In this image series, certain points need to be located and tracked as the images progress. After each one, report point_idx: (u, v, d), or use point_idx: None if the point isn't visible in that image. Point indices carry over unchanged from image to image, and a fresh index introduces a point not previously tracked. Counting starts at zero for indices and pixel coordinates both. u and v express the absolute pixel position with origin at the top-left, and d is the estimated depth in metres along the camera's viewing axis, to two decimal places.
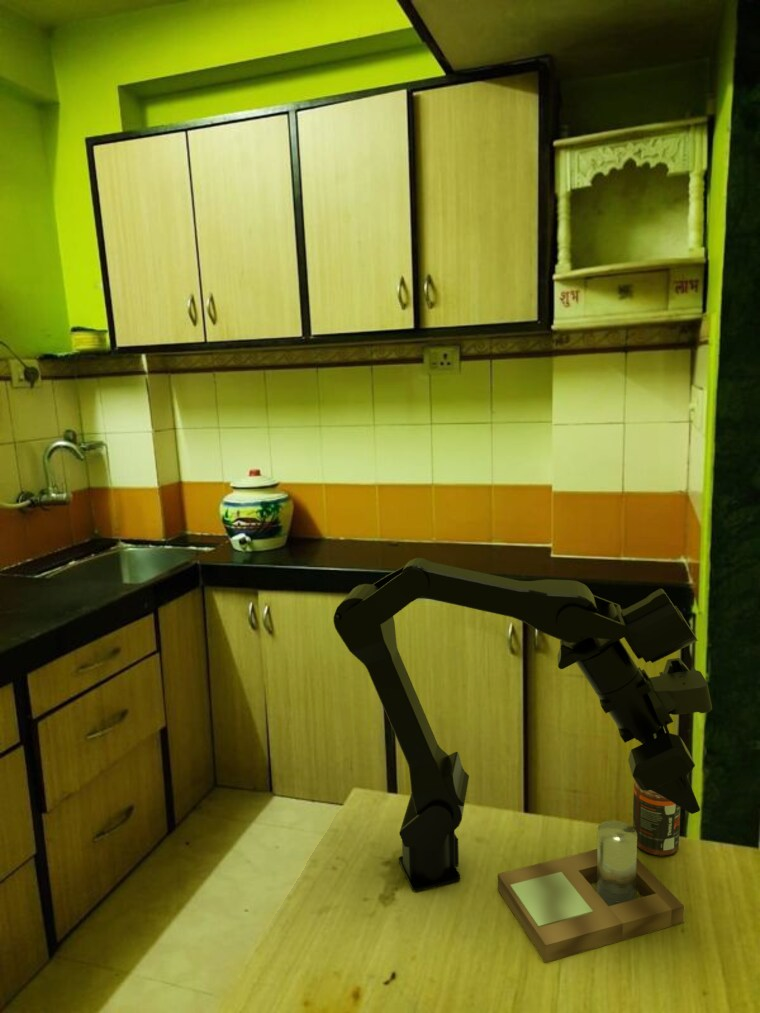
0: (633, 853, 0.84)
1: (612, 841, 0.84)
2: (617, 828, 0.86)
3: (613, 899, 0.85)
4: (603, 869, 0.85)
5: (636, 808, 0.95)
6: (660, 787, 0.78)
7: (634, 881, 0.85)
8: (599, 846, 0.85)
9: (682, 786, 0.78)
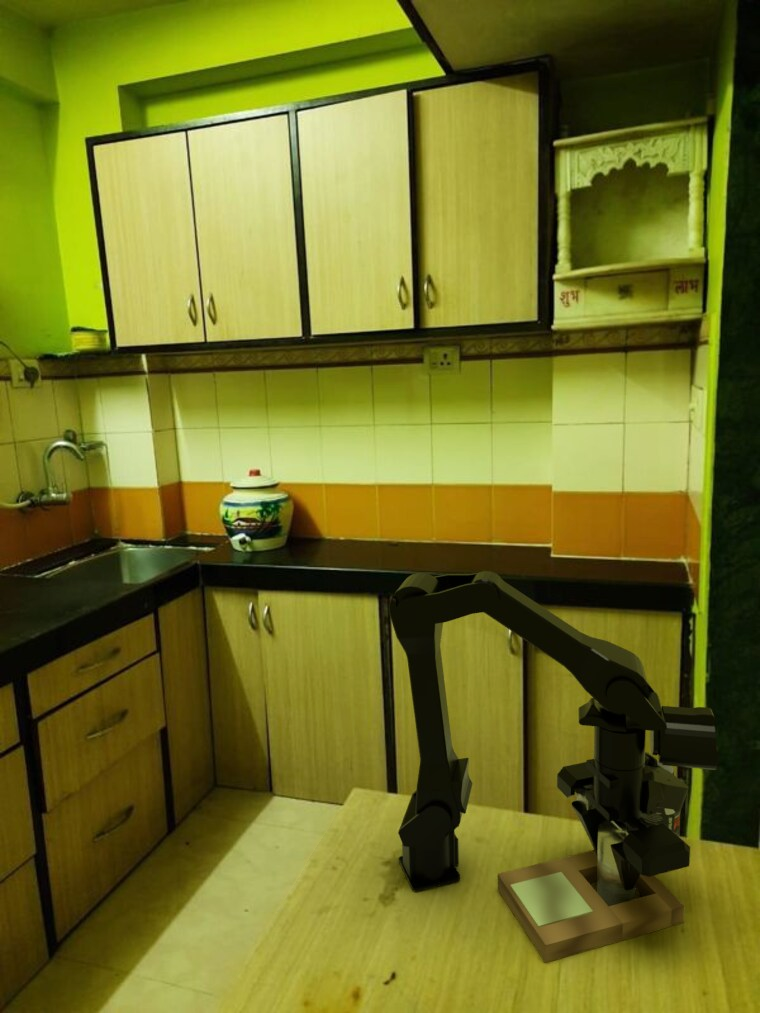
0: None
1: (612, 841, 0.84)
2: (617, 828, 0.86)
3: (613, 899, 0.85)
4: (603, 869, 0.85)
5: None
6: None
7: None
8: (599, 846, 0.85)
9: None
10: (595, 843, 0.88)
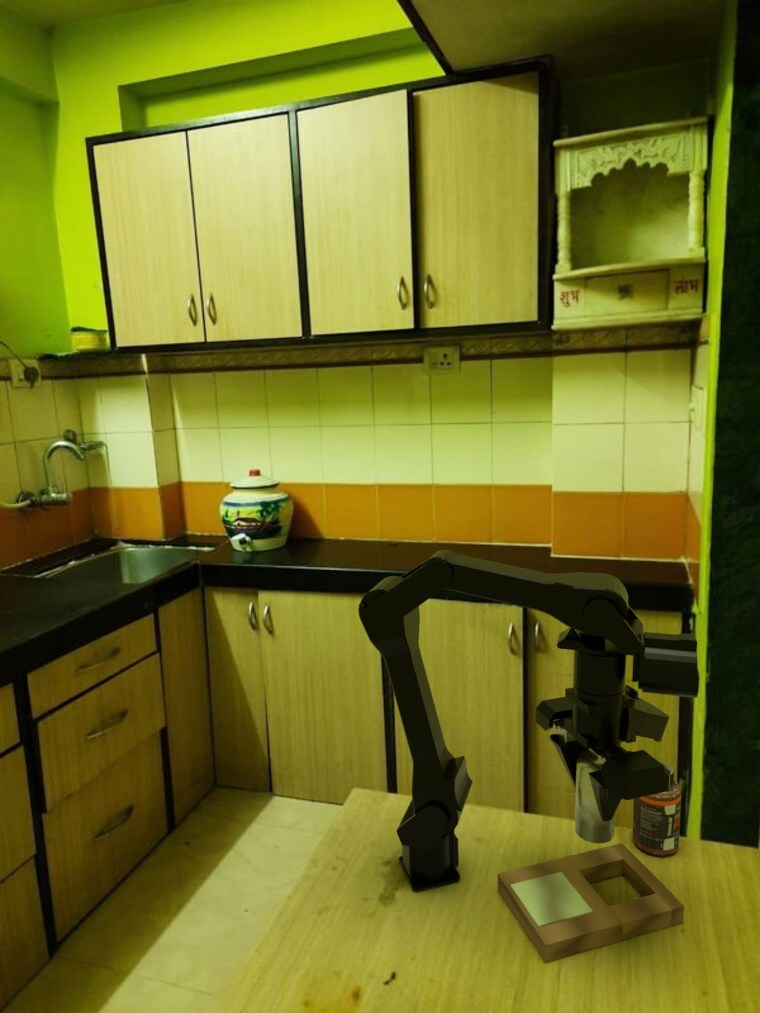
0: None
1: (591, 770, 0.81)
2: (596, 759, 0.84)
3: (591, 831, 0.82)
4: (582, 801, 0.83)
5: (636, 808, 0.95)
6: (605, 789, 0.79)
7: None
8: (578, 777, 0.83)
9: None
10: (573, 776, 0.85)
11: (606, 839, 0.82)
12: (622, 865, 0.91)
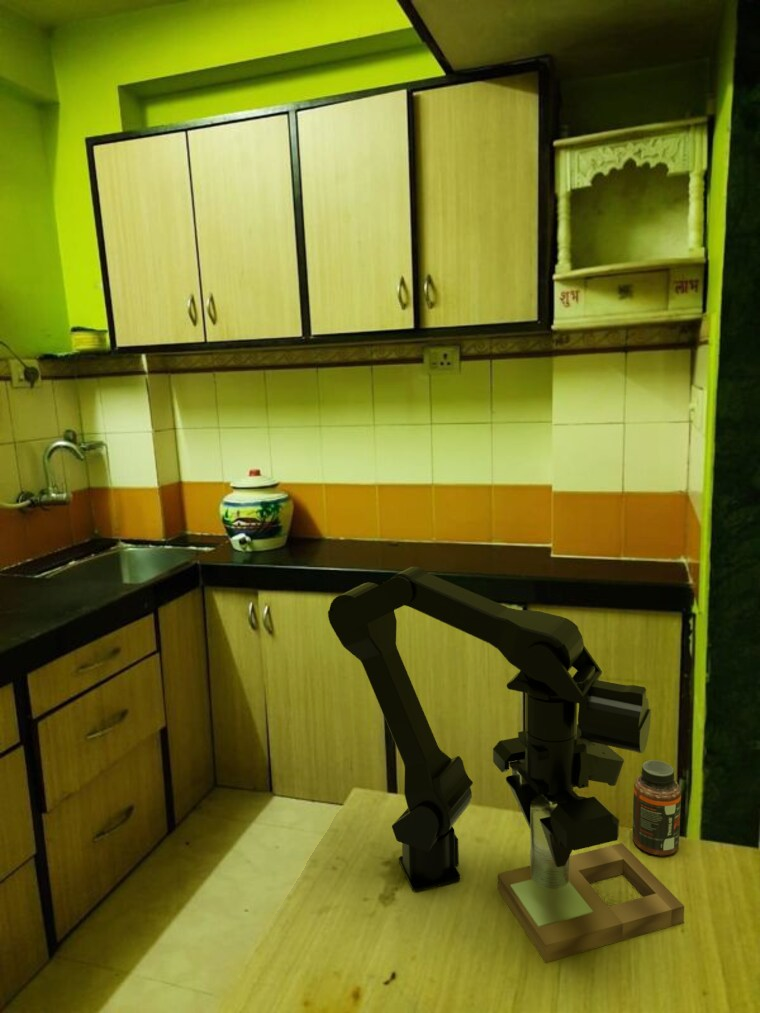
0: None
1: (543, 815, 0.80)
2: None
3: (545, 876, 0.81)
4: (535, 845, 0.82)
5: (636, 808, 0.95)
6: (556, 836, 0.78)
7: None
8: (531, 821, 0.82)
9: None
10: (529, 819, 0.84)
11: (560, 884, 0.81)
12: (622, 865, 0.91)
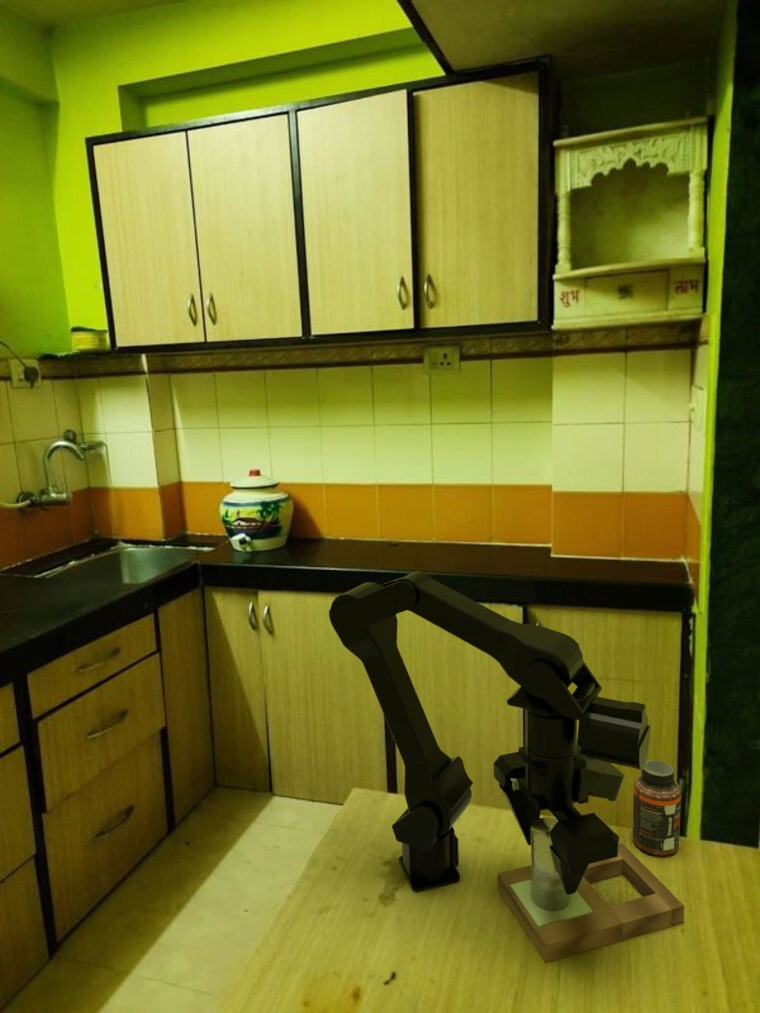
0: None
1: (544, 839, 0.81)
2: (551, 825, 0.83)
3: (545, 899, 0.82)
4: (536, 868, 0.82)
5: (636, 808, 0.95)
6: None
7: None
8: (532, 844, 0.82)
9: (580, 867, 0.77)
10: (521, 824, 0.87)
11: (561, 907, 0.82)
12: (622, 865, 0.91)
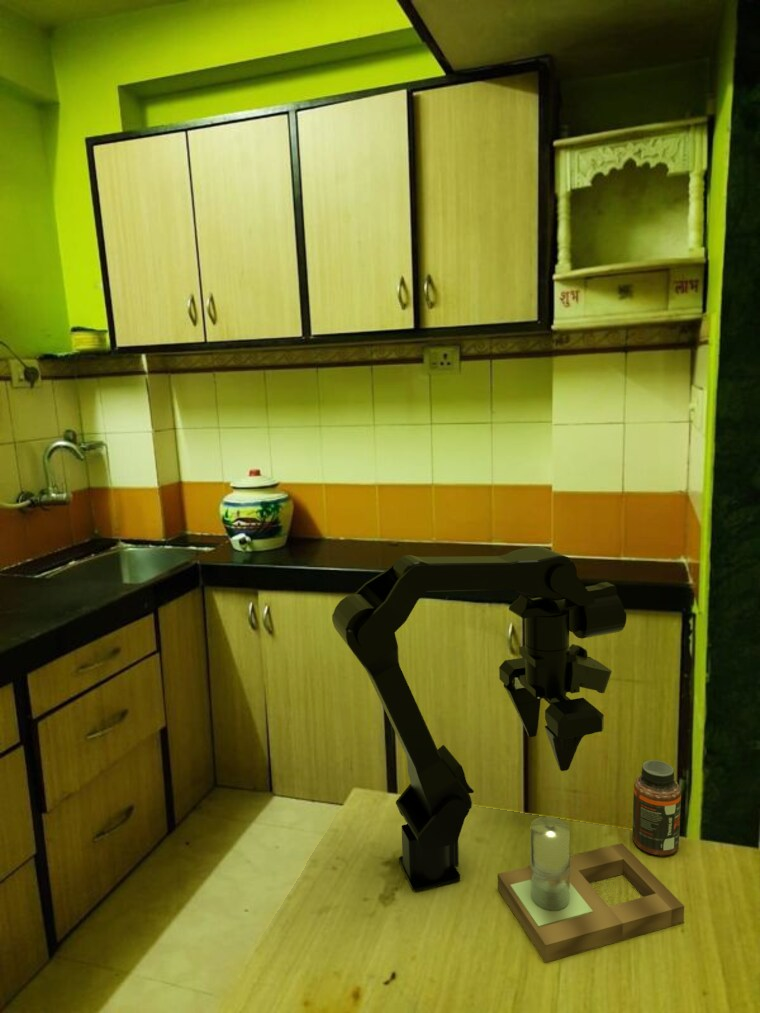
0: (565, 849, 0.81)
1: (543, 837, 0.81)
2: (550, 824, 0.83)
3: (545, 898, 0.82)
4: (535, 867, 0.82)
5: (636, 808, 0.95)
6: (559, 740, 0.88)
7: (567, 879, 0.82)
8: (531, 843, 0.83)
9: (571, 745, 0.90)
10: (523, 717, 0.99)
11: (560, 906, 0.82)
12: (622, 865, 0.91)
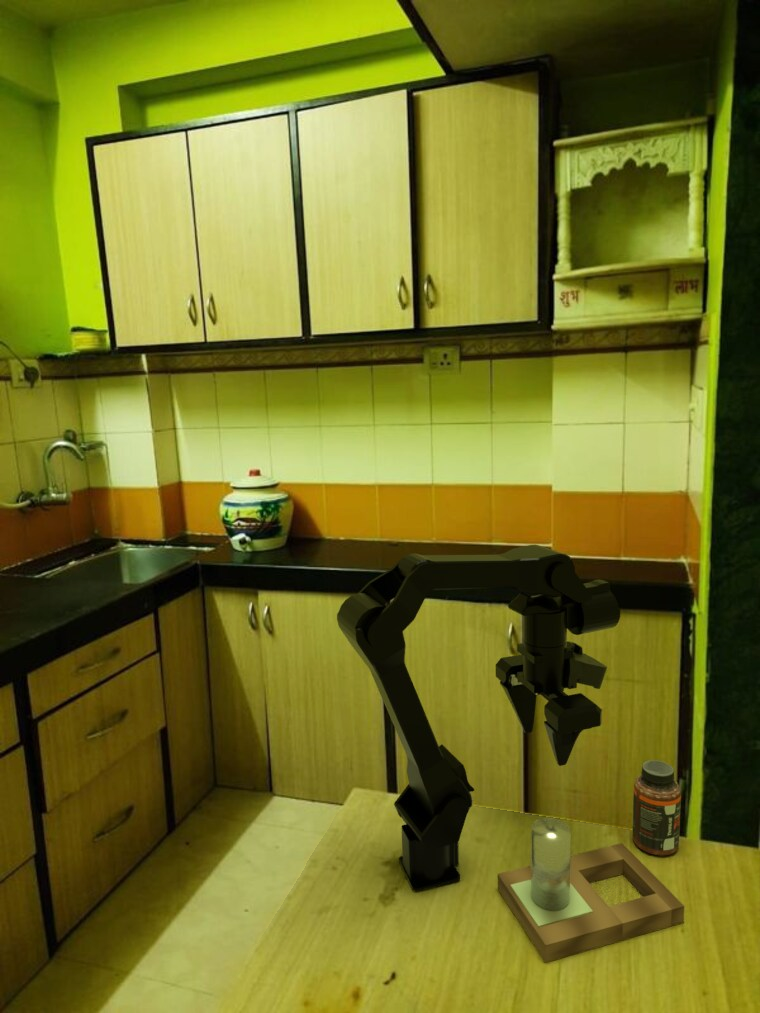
0: (566, 852, 0.81)
1: (543, 839, 0.81)
2: (551, 826, 0.83)
3: (545, 899, 0.82)
4: (535, 868, 0.82)
5: (636, 808, 0.95)
6: (558, 735, 0.90)
7: (567, 881, 0.82)
8: (532, 844, 0.82)
9: (569, 740, 0.91)
10: (519, 714, 1.01)
11: (560, 907, 0.82)
12: (622, 865, 0.91)
